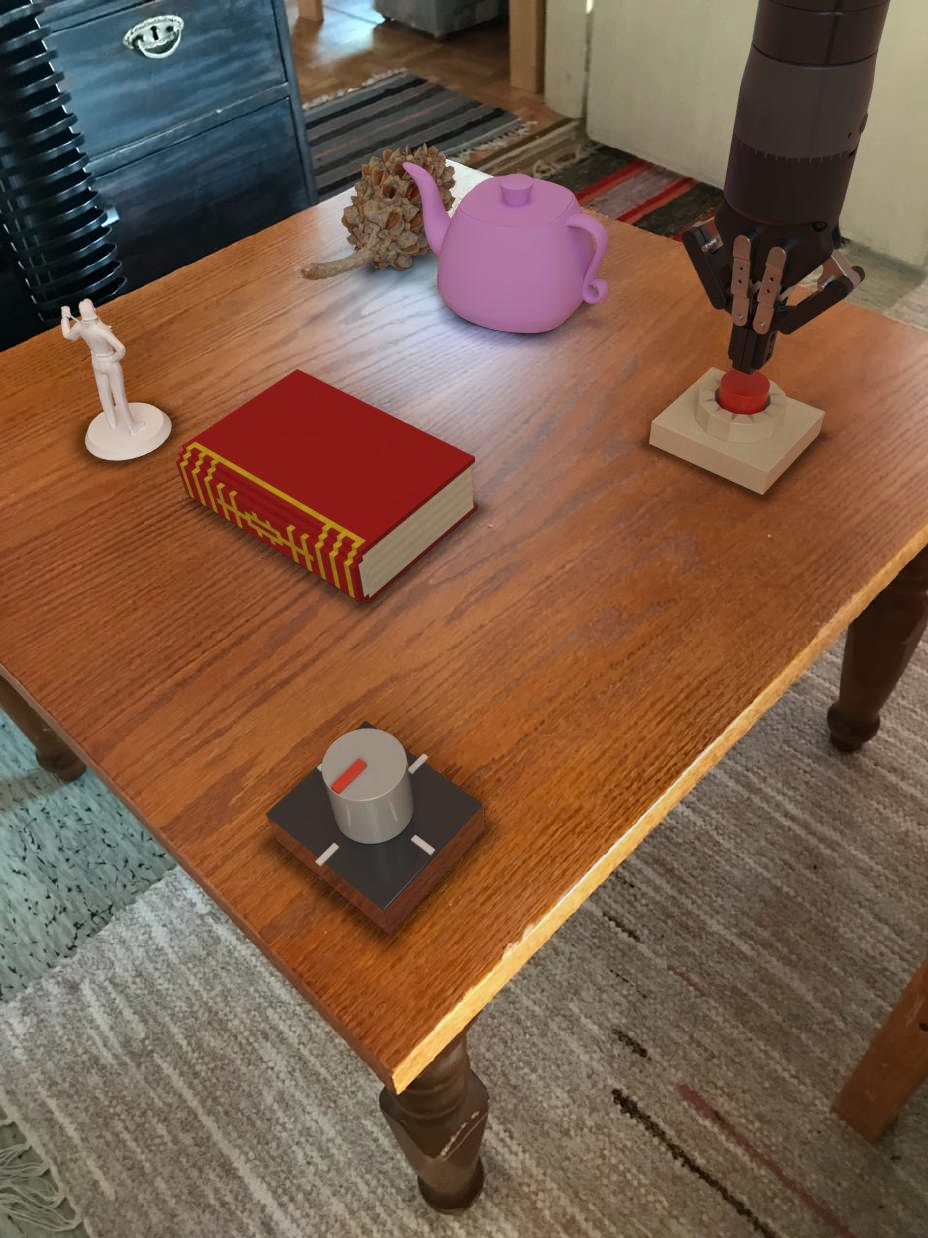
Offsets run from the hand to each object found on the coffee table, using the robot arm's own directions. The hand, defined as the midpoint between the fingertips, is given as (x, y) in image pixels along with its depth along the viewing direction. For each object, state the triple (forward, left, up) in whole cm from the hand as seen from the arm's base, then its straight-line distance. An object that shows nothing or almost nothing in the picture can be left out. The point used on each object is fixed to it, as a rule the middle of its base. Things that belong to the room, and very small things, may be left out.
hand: (747, 366), depth 73 cm
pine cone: (+40, -2, -7) cm, 41 cm away
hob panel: (-2, +43, -7) cm, 44 cm away
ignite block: (0, 0, -7) cm, 7 cm away
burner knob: (-2, +43, -4) cm, 43 cm away
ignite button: (0, 0, -3) cm, 3 cm away
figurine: (+40, +29, -7) cm, 50 cm away
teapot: (+27, -5, -7) cm, 28 cm away
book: (+20, +25, -7) cm, 33 cm away
